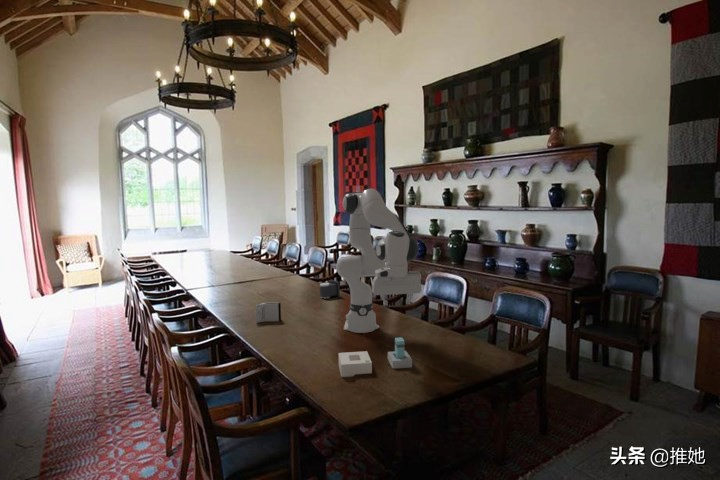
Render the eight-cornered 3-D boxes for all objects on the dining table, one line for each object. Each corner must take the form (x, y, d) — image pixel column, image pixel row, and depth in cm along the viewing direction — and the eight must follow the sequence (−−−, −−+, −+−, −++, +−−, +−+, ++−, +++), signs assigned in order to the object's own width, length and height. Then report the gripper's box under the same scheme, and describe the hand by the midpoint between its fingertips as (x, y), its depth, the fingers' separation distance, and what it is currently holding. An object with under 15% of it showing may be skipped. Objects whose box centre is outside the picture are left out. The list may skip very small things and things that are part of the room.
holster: (387, 360, 173) (387, 351, 172) (405, 359, 174) (405, 350, 174) (392, 370, 163) (392, 361, 163) (412, 369, 164) (412, 359, 164)
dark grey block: (316, 298, 284) (315, 282, 282) (331, 294, 292) (330, 279, 291) (325, 301, 276) (324, 285, 274) (341, 296, 284) (340, 281, 282)
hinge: (255, 323, 226) (255, 305, 225) (255, 320, 231) (255, 303, 230) (281, 321, 229) (280, 303, 228) (280, 318, 234) (280, 301, 233)
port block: (338, 364, 169) (338, 352, 168) (367, 362, 171) (367, 350, 170) (341, 377, 157) (341, 364, 157) (371, 375, 159) (371, 362, 158)
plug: (394, 360, 170) (394, 337, 169) (401, 360, 171) (402, 337, 170) (397, 365, 166) (397, 341, 165) (404, 364, 166) (404, 341, 165)
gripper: (419, 269, 171) (419, 301, 172) (371, 270, 168) (371, 303, 169) (423, 271, 164) (423, 305, 165) (373, 273, 162) (374, 307, 163)
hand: (396, 304), depth 167 cm, fingers open, 8 cm apart
